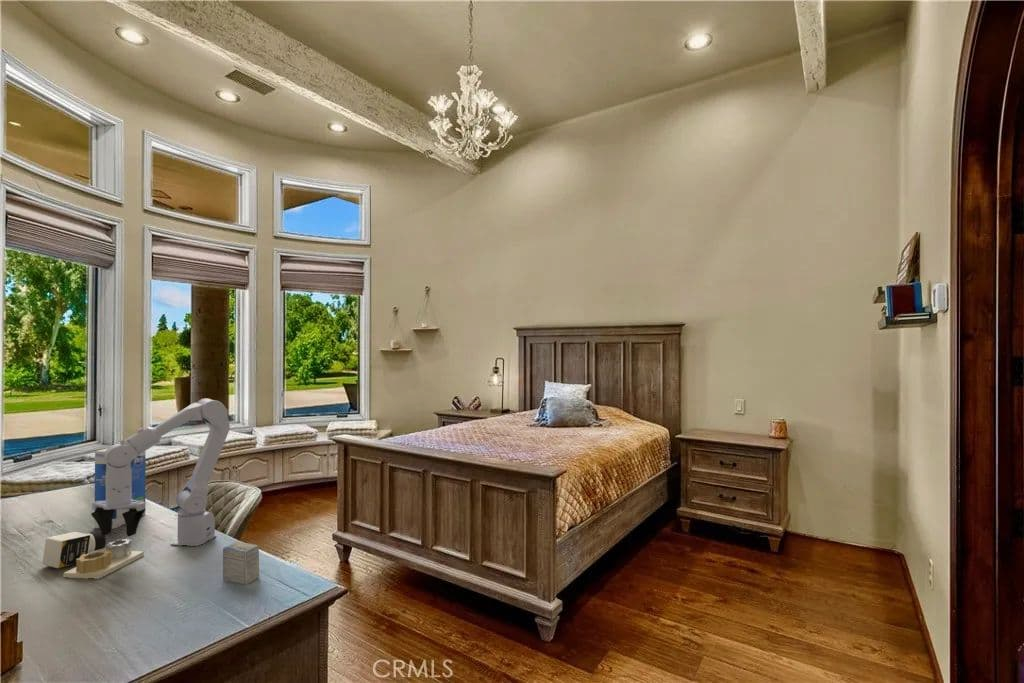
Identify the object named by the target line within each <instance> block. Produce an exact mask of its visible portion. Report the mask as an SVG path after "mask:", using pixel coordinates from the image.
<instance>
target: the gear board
mask: <svg viewBox="0 0 1024 683" xmlns="http://www.w3.org/2000/svg"><path fill="white" fill-rule="evenodd" d="M122 540H123V538H122V539H121V538H118V539H115V540H114V541H115V545H118V544H122ZM144 555H145V551H144V550H143V551H141V550H131V553H130V555H128V556H124V557H122V558H120V559H118V558H117V559H112V560H111V551H110V552H108V551H107V550H106V549H103V550H102V551H97V552H96V551H93V552H92V553H88V554H83V555H81V556H80V558H78V559H76V564H75V565H76V567H73V568H70V570H67V571H65V572H63V578H66V577H68V578H67V579H69V578H70V579H71V578H73V579H88V578H94V579H93V580H100V579H102V578H104V577H106V576H107V574H108V575H109V573H110V574H111V573H113V572H115V571H116V570H119V569H121V568H123V567H125V566H126V565H129V564H130V563H132V562H134V561H136V560H138V559H141V558H143V557H145V556H144ZM105 575H106V576H105ZM103 576H104V577H103ZM101 577H102V578H101ZM99 578H100V579H99Z"/></svg>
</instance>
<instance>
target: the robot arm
mask: <svg viewBox="0 0 1024 683" xmlns="http://www.w3.org/2000/svg"><path fill="white" fill-rule="evenodd" d="M228 412H229V411H228V408H227V407H226V406H225V405H224V404H223V402H222V401H219V400H216V399H215V400H214V399H211V398H207V397H206V398H202V399H199V400H198V401H196V402H193V403H190V404H189V405H188V406H186V407H185V408H183V409H181V410H179V411H178V412H176V413H174V414H173V415H172V416H169V418H167V419H166V420H163V421H162V422H160V423H159V424H158V425H156V426H154V427H151V426H146V427H145V428H143V427H140V428H138V429H137V430H136V431H137V432H136V433H134V434H132V435H131V436H129V437H127V438H125V439H123V438H121V439H120V440H118V441H119V443H118V444H117V443H116V444H115V443H114V444H112V445H110V446H109V447H107V448H108V449H107V448H106V449H107V450H106V451H105V454H104V455H103V457H104V460H105V461H106V462H108V463H107V464H106V501H96V502H95V501H93V502H92V503H91V510H94V511H93V512H91V515H90V516H91V517H92V518H93V519H94V520H96V522H97V523H98V525H99V528H98V529H100V530H99V531H100V532H101V533H102V536H105V537H106V535H109V534H111V533H112V518H113V514H114V510H115V509H120V510H129V511H127V512H125V513H122V515H123V517H124V519H125V523H126V524H125V531H126V536H127V537H131V536H133V535H136V533H137V529H138V526H139V523H140V521H141V518H142V517H143V516H142V515H143V513H144V512H145V513H146V501H145V502H141V501H136V500H132V485H131V462H132V460H133V458H134V456H138V455H139V454H141V453H143V452H144V451H145V452H147V450H149V449H150V448H153V447H155V446H156V445H157V444H159V443H160V442H161V439H162V436H164V435H166V434H168V433H169V432H172V431H173V430H176V429H177V428H178V427H181V426H183V425H184V424H186V423H188V422H191V421H204V422H205V424H206V426H207V427H208V428H209V432H208V434H207V437H206V439H205V442H204V445H203V447H202V449H201V452H200V455H199V457H198V460H197V461H196V464H195V467H194V469H193V472H192V474H191V476H190V479H189V480H188V481H187V482H185V484H184V486H183V488H182V490H181V491H179V493H178V494H177V495H176V497H175V501H176V505H177V506H178V507H180V508H179V510H178V511H177V539H176V540H174V541H172V542H170V544H169V545H170V546H182V545H187V547H188V546H189V547H200V546H202V545H203V544H205V543H206V541H207V542H208V540H209V541H210V540H212V539H214V538H216V537H217V534H216V532H215V531H216V528H215V527H216V525H215V524H216V519H215V515H214V513H213V512H209V511H207V510H206V508H207V505H208V494H209V491H210V490H209V486H210V485H209V483H210V480H211V477H212V475H213V472H214V470H215V467H216V465H217V462H218V460H219V457H220V454H221V451H222V449H223V447H224V444H225V441H226V439H227V437H228V435H229V432H230V429H231V427H230V426H231V425H230V421H229V415H228ZM201 544H202V545H201ZM199 545H200V546H199Z"/></svg>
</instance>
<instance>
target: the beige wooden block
mask: <svg viewBox="0 0 1024 683" xmlns="http://www.w3.org/2000/svg"><path fill="white" fill-rule="evenodd" d="M256 578H257V579H259V578H260V546H259V545H258V544H254V543H247V542H243V541H242V542H241V541H235V542H232V543H230V544H228V545H226V546H224V547H223V548H222V580H223V581H225V580H226V581H227V582H231V583H235V584H241V585H245V586H247V585H248V584H250V583H252V582H254V581H255V580H257V579H256ZM253 580H254V581H253Z"/></svg>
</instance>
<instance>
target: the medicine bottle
mask: <svg viewBox="0 0 1024 683" xmlns="http://www.w3.org/2000/svg"><path fill="white" fill-rule="evenodd" d="M106 539H107V538H106V535H105V536H102V533H101V530H99V531H94V532H91V533H83V532H80V531H73V532H67V533H63V534H58V535H54V536H48V537H46V539H45V543H44V548H43V556H42V557H43V558H42V563H41V564H42V565H45V566H48V567H52V568H56V569H60V568H65V567H68V566H73V565H76V559H78V558H80V556H81V555H83V554H88V553H92V552H93V551H96V552H97V551H103V550H105V548H106V545H107V540H106Z"/></svg>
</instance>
